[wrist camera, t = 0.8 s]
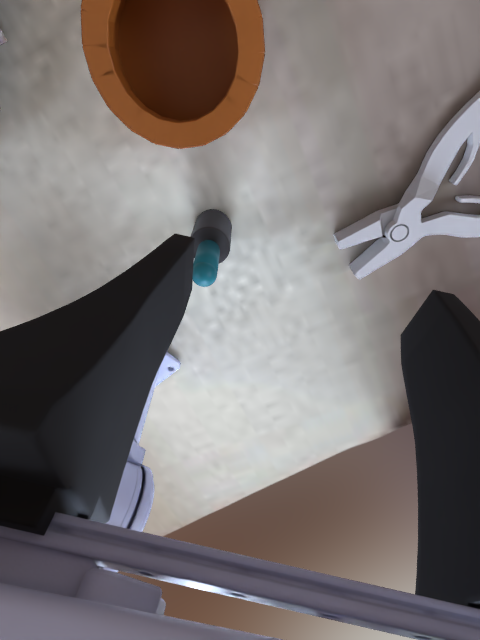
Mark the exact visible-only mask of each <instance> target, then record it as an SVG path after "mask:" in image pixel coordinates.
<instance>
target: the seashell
mask: <svg viewBox="0 0 480 640" xmlns="http://www.w3.org/2000/svg"><path fill="white" fill-rule="evenodd" d="M5 42H7V39H6V38H5V36H4V34H3V31H2V30H1V29H0V45H2V44H3V43H5ZM0 111H1V108H0Z"/></svg>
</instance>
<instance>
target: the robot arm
mask: <svg viewBox="0 0 480 640" xmlns="http://www.w3.org/2000/svg"><path fill="white" fill-rule="evenodd" d="M194 245H195V238H192V237H188V236H183V235H179V234H174V235H172V236H171V237H170V238H168V239H167V240H166V241H165V242H163V243H162V244H161V245H160V246H158V247H157V248H156V249H155V250H153V251H152V252H151V253H149V254H148V255H147V256H146V257H144V258H143V259H141V260H140V261H139V262H137V263H136V264H135V265H133V266H132V267H131V268H129V269H128V270H126V271H125V272H123V273H122V274H120V275H119V276H117V277H116V278H114V279H113V280H111V281H110V282H108V283H106V284H105V285H103V286H102V287H100V288H98V289H97V290H95V291H93V292H91V293H89V294H88V295H86V296H84V297H82V298H80V299H78V300H76V301H74V302H72V303H70V304H68V305H66V306H63V307H61V308H59V309H56V310H54V311H52V312H50V313H47V314H45V315H43V316H40V317H38V318H36V319H33V320H31V321H28V322H25V323H23V324H20V325H17V326H15V327H12V328H9V329H6V330H3V331H0V640H282V639H277V638H272V637H268V636H263V635H257V634H253V633H248V632H244V631H238V630H234V629H228V628H223V627H219V626H214V625H208V624H204V623H198V622H194V621H188V620H184V619H179V618H174V617H169V616H164V611H165V607H166V603H165V601H164V600H163V599H162V598H161V595H162V590H161V588H160V587H158V586H155V585H152V584H149V583H146V582H143V581H140V580H137V579H134V578H131V577H128V576H125V575H122V574H119V573H117V572H118V571H123V572H127V573H132V574H136V575H140V576H145V577H149V578H153V579H157V580H162V581H166V582H170V583H175V584H179V585H184V586H188V587H192V588H197V589H201V590H205V591H209V592H214V593H218V594H222V595H227V596H231V597H235V598H240V599H244V600H248V601H253V602H257V603H261V604H266V605H270V606H275V607H279V608H283V609H287V610H292V611H296V612H300V613H305V614H309V615H313V616H318V617H322V618H327V619H331V620H335V621H339V622H344V623H348V624H352V625H357V626H361V627H366V628H370V629H374V630H379V631H383V632H387V633H391V634H396V635H400V636H404V637H409V638H413V639H418V640H480V321H479V320H478V319H477V318H476V317H475V316H474V314H473V313H472V312H471V311H470V310H469V309H468V308H467V307H466V306H465V305H464V304H463V303H462V302H461V301H460V300H459V299H458V298H457V297H456V296H455V295H454V294H450V293H445V292H441V291H436V290H433V291H432V292H431V293H430V295H429V296H428V298H427V299H426V300H425V302H424V303H423V305H422V306H421V307H420V309H419V310H418V312H417V313H416V314H415V316H414V317H413V319H412V320H411V321H410V323H409V324H408V326H407V327H406V328H405V330H404V331H403V333H402V334H401V364H402V371H403V377H404V382H405V388H406V393H407V399H408V404H409V409H410V415H411V420H412V425H413V431H414V439H415V448H416V462H417V481H418V482H417V483H418V556H417V578H416V591H415V595H414V594H411V593H406V592H402V591H397V590H393V589H389V588H384V587H380V586H376V585H371V584H367V583H362V582H358V581H354V580H349V579H345V578H340V577H336V576H331V575H327V574H323V573H319V572H315V571H310V570H306V569H301V568H297V567H292V566H288V565H284V564H280V563H275V562H271V561H266V560H262V559H258V558H253V557H249V556H245V555H240V554H236V553H231V552H227V551H222V550H218V549H214V548H210V547H205V546H201V545H197V544H192V543H188V542H183V541H179V540H175V539H170V538H166V537H162V536H157V535H153V534H149V533H144V532H142V531H143V529H144V527H145V524H146V522H147V519H148V517H149V514H150V511H151V507H152V503H153V498H154V481H153V474H152V471H151V469H150V468H149V467H147V466H144V465H142V462H143V458H144V455H145V451H146V450H145V449H144V448H142V447H140V446H139V441H140V438H141V434H142V431H143V427H144V423H145V420H146V416H147V413H148V409H149V406H150V402H151V399H152V395H153V392H154V388H155V386H157V385H158V384H159V383H161V382H162V381H163V380H165V379H166V378H167V377H169V376H170V375H171V374H172V373H174V372H175V371H176V370H178V369H179V368H180V364H181V363H180V361H179V360H177V359H176V358H175V357H173V356H172V355H171V354H169V353H168V352H167V350H168V348H169V346H170V344H171V342H172V340H173V338H174V335H175V333H176V331H177V329H178V327H179V325H180V322H181V320H182V318H183V316H184V313H185V310H186V307H187V303H188V300H189V297H190V294H191V291H192V279H193V262H194ZM170 367H173V368H170Z"/></svg>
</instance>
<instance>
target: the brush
mask: <svg viewBox="0 0 480 640" xmlns="http://www.w3.org/2000/svg"><path fill="white" fill-rule="evenodd" d="M231 229H232V227H231V222H230V220H229V218H228V217H227V215H225V214H224V213H223V212H221V211H219V210H214V209H210V210H206V211H204V212H202V213H201V214H200V215H199V216H198V218H197V219H196V222H195V225H194V228H193V231H192V234H191V237H192V238H195V245H194V258H195V259H194V263H193V281H194V282H195V283H196V284H197V285H199V286H202V287H206V286H210V285H211V284H213V283H214V282H215V280H216V277H217V271H218V264H219V263H221V262H222V261H224V260H225V259H226V258H227V256H228V254H229V251H230V242H231Z"/></svg>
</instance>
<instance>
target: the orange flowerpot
mask: <svg viewBox="0 0 480 640" xmlns="http://www.w3.org/2000/svg"><path fill="white" fill-rule="evenodd" d="M81 28H82V44H83V50H84V54H85V57H86V61H87V64H88V67H89V71H90V74H91V78H92V79H93V82H94V84H95V86H96V87H97V89H98V91H99V92H100V94H101V96H102V98H103V99H104V101H105V103H106V105H107V106H108V108H110V110H111V111H112V112H113V113H114V114H115V115H116V116H117V117H118V118H119V119H120V120H121V121H122V122H123V123H124V124H125V125H126V126H127V127H128V128H129V129H131V131H133V132H134V133H136V134H138V135H140V136H141V137H143V138H145V139H147V140H148V141H150V142H152V143H155V144H158V145H162V146H167V147H172V148H177V149H179V148H180V149H183V148H191V147H198V146H203V145H206V144H208V143H210V142H212V141H214V140H216V139H218V138H220V137H222V136H223V135H225V134H226V133H228V132H229V131H230V130H231V129H232V128H233V126H234V125H235V124H236V123H237V122H238V121H239V120H240V119H241V118H242V117H243V116H244V114H245V113H246V112H247V110H248V107H249V105H250V103H251V101H252V99H253V97H254V95H255V93H256V91H257V89H258V86H259V83H260V78H261V72H262V67H263V62H264V56H265V54H264V53H265V44H264V29H263V18H262V13H261V10H260V7H259V4H258V1H257V0H82V4H81Z"/></svg>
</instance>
